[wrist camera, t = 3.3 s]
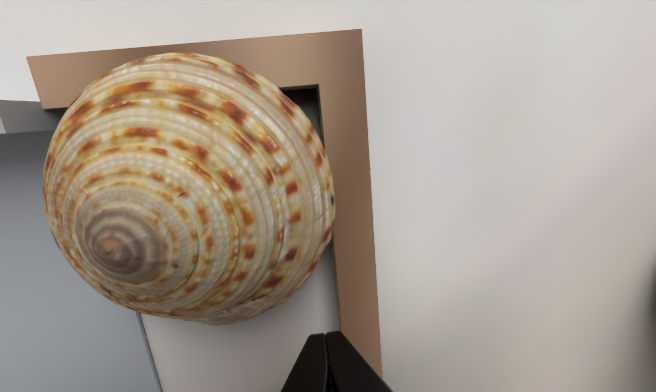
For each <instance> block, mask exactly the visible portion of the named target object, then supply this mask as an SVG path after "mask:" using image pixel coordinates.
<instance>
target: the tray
mask: <svg viewBox="0 0 656 392" xmlns="http://www.w3.org/2000/svg"><path fill="white" fill-rule="evenodd" d="M65 112H66V110H65V109H43V108H42V105H41V102H32V101H10V100H0V392H162V390H161V387H160V383H159V380H158V376H157V373H156V369H155V366H154V363H153V359H152V356H151V352H150V349H149V345H148V342H147V338H146V335H145V331H144V328H143V324H142V321H141V317H140V314H139V312H137V311H133V310H131V309H129V308H126V307H123V306H121V305H118V304H115V303H113V302H111V301H110V300H109V299H107V298H106V297H104V296H103V295H101V294H100V293H98V292H97V291H95V290H94V289H93V288H92V287H91V286H90V285H89V284H88V283H87V282H86V281H85V280H83V279H82V278H81V276H80V275H79V274H78V273H77V272H76V271H75V270H74V269H73V268H72V267H71V265H70V264H69V263H68V261H67V260H66V258H65V257H64V256H63V254H62V253H61V252H60V249H59V248H58V246H57V244H56V242H55V239H54V237H53V235H52V233H51V230H50V226H49V223H48V219H47V215H46V212H45V204H44V198H43V181H44V164H45V160H46V156H47V152H48V149H49V146H50V142H51V139H52V136H53V134H54V132H55V130H56V128H57V127H58V124H59V122H60V120H61V118H62V117H63V115H64V114H65Z"/></svg>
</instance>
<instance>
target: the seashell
mask: <svg viewBox="0 0 656 392" xmlns="http://www.w3.org/2000/svg"><path fill="white" fill-rule="evenodd" d="M43 198H44V204H45V212H46V215H47V219H48V223H49V226H50V230H51V233H52V235H53V237H54V239H55V242H56V244H57V246H58V248H59V249H60V252H61V253H62V254H63V256H64V257H65V258H66V260H67V261H68V263H69V264H70V265H71V267H72V268H73V269H74V270H75V271H76V272H77V273H78V274H79V275H80V276H81V278H82V279H83V280H85V281H86V282H87V283H88V284H89V285H90V286H91V287H92V288H93V289H94V290H95V291H97V292H98V293H100V294H101V295H103V296H104V297H106V298H107V299H109V300H110V301H111V302H113V303H115V304H118V305H121V306H123V307H126V308H129V309H131V310H133V311H137V312H140V313H142V314H148V315H154V316H160V317H166V318H174V319H184V320H188V321H196V322H201V323H205V324H209V325H216V326H219V325H227V324H233V323H236V322H239V321H243V320H246V319H249V318H251V317H253V316H256V315H258V314H260V313H262V312H264V311H266V310H268V309H270V308H273V307H275V306H277V305H279V304H280V303H282V302H283V301H285V300H286V299H287V298H288V297H290V296H291V295H292V294H293V293H294V292H296V291H297V290H298V289H299V288H300V287H301V286H302V285H303V284H304V282H305V281H306V280H307V279H308V278H309V276H310V275H311V273H312V272H313V271H314V269H315V268H316V266H317V265H318V263H319V261H320V260H321V258H322V256H323V254H324V252H325V250H326V247H327V245H328V243H329V241H330V239H331V235H332V230H333V225H334V220H335V211H336V207H335V191H334V181H333V175H332V170H331V166H330V162H329V159H328V155H327V153H326V151H325V149H324V147H323V144H322V142H321V140H320V138H319V136H318V134H317V132H316V130H315V129H314V127H313V125H312V123H311V122H310V120H309V119H308V118H307V116H306V115H305V114H304V112H303V111H302V110H301V108H300V107H299V106H297V105H296V104H295V103H294V102H293V101H291V100H290V99H289V98H288V97H286V96H285V95H284V94H283V93H282V91H281V90H280V89H279V88H278V86H277V85H276V84H274V83H273V82H271V81H270V80H268V79H267V78H265V77H263V76H261V75H259V74H257V73H256V72H254V71H252V70H250V69H248V68H246V67H244V66H241V65H239V64H236V63H233V62H231V61H228V60H225V59H223V58H218V57H213V56H207V55H202V54H196V53H165V54H159V55H153V56H148V57H144V58H140V59H137V60H134V61H131V62H128V63H126V64H123V65H122V66H120V67H117V68H115V69H112V70H110V71H109V72H107V73H105V74H104V75H102V76H100V77H99V78H98V79H96V80H95V81H94V82H92V83H91V84H90V85H88V86H87V87H86V88H85V89H84V90H83V91H82V92H81V94H80V95H79V96H78V97H77V98H76V99H75V100H74V101H73V102H72V103H71V104H70V106H69V107H68V109H67V110H66V112H65V114H64V115H63V117H62V118H61V120H60V122H59V124H58V127H57V128H56V130H55V132H54V134H53V136H52V139H51V142H50V146H49V149H48V152H47V156H46V160H45V164H44V181H43Z"/></svg>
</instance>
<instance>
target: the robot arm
mask: <svg viewBox="0 0 656 392" xmlns="http://www.w3.org/2000/svg"><path fill="white" fill-rule="evenodd" d="M326 345H327V346H326ZM327 354H328V355H327ZM328 362H329V364H328ZM329 371H330V373H329ZM330 380H331V382H330ZM331 389H332V390H331ZM281 392H393V391H392V390H391V389H390V387H389V386H388V385H387V384H386V383H385V382H384V380H383V379H382V378H381V377H380V376H379V375H378V373H377V372H376V371H375V370H374V369H373V368H372V366H371V365H370V364H369V363H368V362H367V361H366V359H365V358H364V357H363V356H362V355H361V354H360V353H359V351H358V350H357V349H356V348H355V347H354V346H353V344H352V343H351V342H350V341H349V340H348V339H347V337H346V336H345V335H344V334H343V333H342V332H341V331H333V332H327V333H326V337H325V334H324V333H318V334H311V335H310V336H309V337H308V339H307V341H306V343H305V345H304V347H303V349H302V350H301V352H300V354H299V356H298V358H297V360H296V362H295V364H294V366H293V368H292V370H291V372H290V374H289V376H288V378H287V380H286V382H285V384H284V386H283V388H282V390H281Z"/></svg>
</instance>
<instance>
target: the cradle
mask: <svg viewBox="0 0 656 392" xmlns="http://www.w3.org/2000/svg"><path fill="white" fill-rule="evenodd" d="M165 53H196V54H202V55H207V56H213V57H218V58H223V59H225V60H228V61H231V62H233V63H236V64H239V65H241V66H244V67H246V68H248V69H250V70H252V71H254V72H256V73H257V74H259V75H261V76H263V77H265V78H267V79H268V80H270V81H271V82H273V83H274V84H276V85H277V86H278V88H279V89H280V90H281V91H289V90H300V89H311V88H317V98H318V108H319V119H320V129H321V139H322V144H323V147H324V149H325V151H326V153H327V155H328V159H329V162H330V166H331V170H332V175H333V181H334V191H335V207H336V211H335V220H334V225H333V230H332V235H331V242H332V252H333V262H334V273H335V283H336V293H337V304H338V314H339V324H340V331H341V332H342V333H343V334H344V335H345V336H346V337H347V339H348V340H349V341H350V342H351V343H352V344H353V346H354V347H355V348H356V349H357V350H358V351H359V353H360V354H361V355H362V356H363V357H364V358H365V359H366V361H367V362H368V363H369V364H370V365H371V366H372V368H373V369H374V370H375V371H376V372H377V373H378V375H379V376H380V377H381V378H382V365H381V348H380V331H379V314H378V297H377V281H376V264H375V247H374V230H373V213H372V196H371V179H370V162H369V145H368V128H367V111H366V94H365V77H364V60H363V43H362V29H355V30H343V31H331V32H319V33H307V34H295V35H283V36H271V37H259V38H247V39H235V40H223V41H211V42H198V43H186V44H174V45H162V46H150V47H138V48H126V49H114V50H102V51H90V52H78V53H66V54H54V55H42V56H30V57H26V58H27V61H28V64H29V67H30V70H31V74H32V77H33V80H34V83H35V86H36V89H37V92H38V96H39V99H40V102H41V105H42V108H43V109H65V110H67V109H68V107H69V106H70V104H71V103H72V102H73V101H74V100H75V99H76V98H77V97H78V96H79V95H80V94H81V92H82V91H83V90H84V89H85V88H86V87H87V86H88V85H90V84H91V83H92V82H94V81H95V80H96V79H98V78H99V77H100V76H102V75H104V74H105V73H107V72H109V71H110V70H112V69H115V68H117V67H120V66H122V65H123V64H126V63H128V62H131V61H134V60H137V59H140V58H144V57H148V56H153V55H159V54H165Z"/></svg>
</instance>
